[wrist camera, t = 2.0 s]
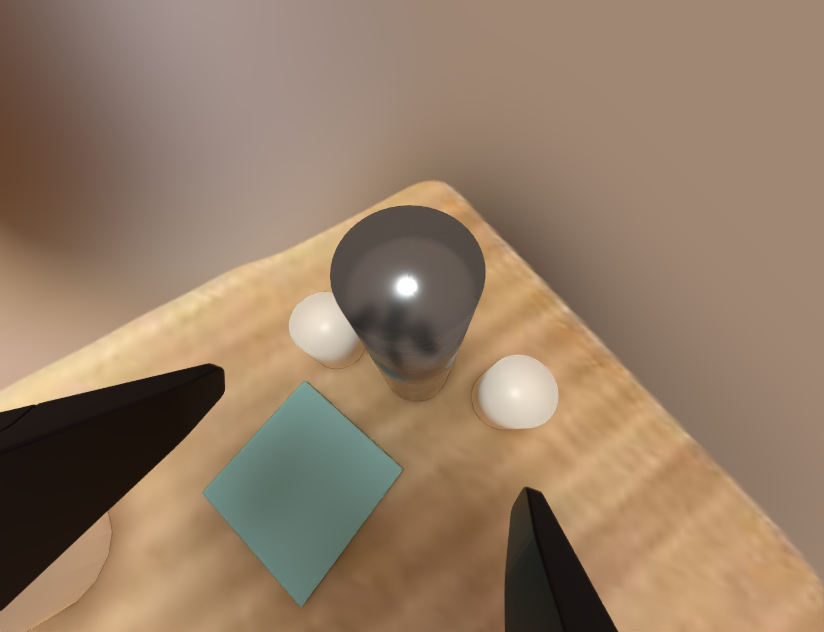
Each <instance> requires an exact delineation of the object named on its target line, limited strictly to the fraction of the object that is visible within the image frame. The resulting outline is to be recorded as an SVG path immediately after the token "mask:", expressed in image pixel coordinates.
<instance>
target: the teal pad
mask: <svg viewBox="0 0 824 632" xmlns="http://www.w3.org/2000/svg"><path fill="white" fill-rule="evenodd" d="M402 470H403V468H402V467H401V466H400V465H399V464H397V463H396V462H395V461H394V460H393V459H392V458H391V457H390V456H389V455H387V454H386V453H385V452H384V451H383V450H382V449H381V448H380V447H379V446H377V445H376V444H375V443H374V442H373V441H372V440H371V439H370V438H369V437H367V436H366V435H365V434H364V433H363V432H362V431H361V430H360V429H359V428H358V427H356V426H355V425H354V424H353V423H352V422H351V421H350V420H349V419H348V418H346V417H345V416H344V415H343V414H342V413H341V412H340V411H339V410H338V409H336V408H335V407H334V406H333V405H332V404H331V403H330V402H329V401H328V400H326V399H325V398H324V397H323V396H322V395H321V394H320V393H319V392H318V391H317V390H315V389H314V388H313V387H312V386H311V385H310V384H309V383H308V382H306V381H304V382H303V383H302V384H301V385H300V386H299V387H298V388H297V389H296V390H295V391H294V393H293V394H292V395H291V396H290V397H289V398H288V399H287V400H286V401H285V402H284V403H283V405H282V406H281V407H280V408H279V409H278V410H277V411H276V412H275V413H274V414H273V416H272V417H271V418H270V419H269V420H268V421H267V422H266V423H265V424H264V425H263V426H262V428H261V429H260V430H259V431H258V432H257V433H256V434H255V435H254V436H253V437H252V439H251V440H250V441H249V442H248V443H247V444H246V445H245V446H244V447H243V448H242V450H241V451H240V452H239V453H238V454H237V455H236V456H235V457H234V458H233V459H232V460H231V462H230V463H229V464H228V465H227V466H226V467H225V468H224V469H223V470H222V471H221V473H220V474H219V475H218V476H217V477H216V478H215V479H214V480H213V481H212V482H211V483H210V485H209V486H208V487H207V488H206V489H205V490H204V491H203V492H202V494H203V495H204V496H205V497H206V498H207V499H208V501H209V502H210V503H211V504H212V505H213V506H214V508H215V509H216V510H217V511H218V512H219V513H220V515H221V516H222V517H223V518H224V519H225V520H226V522H227V523H228V524H229V525H230V526H231V527H232V528H233V530H234V531H235V532H236V533H237V534H238V535H239V537H240V538H241V539H242V540H243V541H244V542H245V544H246V545H247V546H248V547H249V548H250V549H251V551H252V552H253V553H254V554H255V555H256V556H257V557H258V559H259V560H260V561H261V562H262V563H263V564H264V566H265V567H266V568H267V569H268V570H269V571H270V573H271V574H272V575H273V576H274V577H275V578H276V580H277V581H278V582H279V583H280V584H281V585H282V586H283V588H284V589H285V590H286V591H287V592H288V593H289V595H290V596H291V597H292V598H293V599H294V600H295V602H296V603H297V604H298V605H299V606H300V607H302V606H303V604H304V603H305V602H306V600H307V599H308V598H309V596H310V595H311V593H312V592H313V591H314V589H315V588H316V587H317V585H318V584H319V583H320V581H321V580H322V579H323V577H324V576H325V574H326V573H327V572H328V570H329V569H330V568H331V566H332V565H333V564H334V562H335V561H336V560H337V558H338V557H339V556H340V554H341V553H342V551H343V550H344V549H345V547H346V546H347V545H348V543H349V542H350V541H351V539H352V538H353V537H354V535H355V534H356V532H357V531H358V530H359V528H360V527H361V526H362V524H363V523H364V522H365V520H366V519H367V518H368V516H369V515H370V513H371V512H372V511H373V509H374V508H375V507H376V505H377V504H378V503H379V501H380V500H381V499H382V497H383V496H384V494H385V493H386V492H387V490H388V489H389V488H390V486H391V485H392V484H393V482H394V481H395V480H396V478H397V477H398V475H399V474H400V473H401V471H402Z"/></svg>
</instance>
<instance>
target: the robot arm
mask: <svg viewBox="0 0 824 632" xmlns="http://www.w3.org/2000/svg"><path fill="white" fill-rule="evenodd" d="M224 392H225V374H224V369H223V368H222V367H220V366H217V365H214V364H211V363H208V364H204V365H199V366H195V367H191V368H187V369H183V370H178V371H174V372H170V373H166V374H161V375H157V376H153V377H149V378H144V379H140V380H136V381H132V382H127V383H123V384H119V385H115V386H111V387H106V388H102V389H98V390H94V391H89V392H85V393H81V394H77V395H72V396H68V397H64V398H60V399H55V400H51V401H47V402H43V403H39V404H37V405H30V406H26V407H21V408H17V409H13V410H9V411H4V412H0V611H2V610H3V609H4V608H6V607H7V606H8V605H9V604H10V603H11V602H12V601H13V600H14V599H15V598H16V597H17V596H18V595H19V594H20V593H21V592H22V591H24V590H25V589H26V588H27V587H28V586H29V585H30V584H31V583H32V582H33V581H34V580H35V579H36V578H37V577H38V576H39V575H41V574H42V573H43V572H44V571H45V570H46V569H47V568H48V567H49V566H50V565H51V564H52V563H53V562H54V561H55V560H56V559H58V558H59V557H60V556H61V555H62V554H63V553H64V552H65V551H66V550H67V549H68V548H69V547H70V546H71V545H72V544H73V543H74V542H76V541H77V540H78V539H79V538H80V537H81V536H82V535H83V534H84V533H85V532H86V531H87V530H88V529H89V528H90V527H91V526H93V525H94V524H95V523H96V522H97V521H98V520H99V519H100V518H101V517H102V516H103V515H104V514H105V513H106V512H107V511H108V510H110V509H111V508H112V507H113V506H114V505H115V504H116V503H117V502H118V501H119V500H120V499H121V498H122V497H123V496H124V495H125V494H126V493H128V492H129V491H130V490H131V489H132V488H133V487H134V486H135V485H136V484H137V483H138V482H139V481H140V480H141V479H142V478H143V477H145V476H146V475H147V474H148V473H149V472H150V471H151V470H152V469H153V468H154V467H155V466H156V465H157V464H158V463H159V462H160V461H161V460H163V459H164V458H165V457H166V456H167V455H168V454H169V453H170V452H171V451H172V450H173V449H174V448H175V447H176V446H177V445H178V444H179V443H180V442H181V441H182V440H183V439H184V438H185V437H186V436H187V435H188V434H189V433H190V432H191V431H192V430H193V429H194V428H195V426H196V425H197V424H198V423H199V422H200V421H201V420H202V419H203V417H204V416H205V415H206V414H207V413H208V412H209V411H210V410H211V408H212V407H213V406H214V405H215V404H216V403H217V402H218V401H219V399H220V398H221V397H222V396H223V394H224ZM505 632H618V630H617V629H616V627H615V625H614V623H613V621H612V619H611V618H610V616H609V614H608V612H607V610H606V608H605V607H604V605H603V603H602V601H601V599H600V598H599V596H598V594H597V592H596V590H595V588H594V587H593V585H592V583H591V581H590V579H589V577H588V576H587V574H586V572H585V570H584V568H583V567H582V565H581V563H580V561H579V559H578V557H577V556H576V554H575V552H574V550H573V548H572V546H571V545H570V543H569V541H568V539H567V537H566V536H565V534H564V532H563V530H562V528H561V526H560V525H559V523H558V521H557V519H556V517H555V515H554V514H553V512H552V510H551V508H550V506H549V505H548V503H547V501H546V499H545V497H544V495H543V494H542V493H541V492H540V491H538V490H535V489H533V488H530V487H524V488H523V489H522V491H521V492H520V494H519V496H518V498H517V499H516V501H515V503H514V505H513V507H512V510H511V516H510V527H509V538H508V548H507V559H506V569H505Z"/></svg>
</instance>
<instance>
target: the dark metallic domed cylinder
mask: <svg viewBox="0 0 824 632" xmlns="http://www.w3.org/2000/svg"><path fill="white" fill-rule="evenodd" d="M330 280H331V288H332V292H333V295H334V298H335V300H336V303H337V304H338V306H339V308H340V309H341V311H342V313H343V314H344V316H345V317H346V319H347V320H348V322H349V323H350V325H351V327H352V328H353V330H354V331H355V333H356V334H357V336H358V337H359V339H360V341H361V342H362V344H363V345H364V347H365V348H366V350H367V351H368V353H369V354H370V356H371V358H372V359H373V361H374V362H375V364H376V365H377V367H378V368H379V370H380V372H381V373H382V375H383V376H384V378H385V379H386V381H387V382H388V384H389V385H390V387H391V388H392V390H393V391H394V392H395V393H396V394H397V395H399V396H400V397H402V398H404V399H406V400H410V401H424V400H427V399H430V398H432V397H433V396H435V395H436V394H437V393H438V392H439V391H440V390H441V389H442V388H443V386H444V384H445V382H446V380H447V377H448V375H449V373H450V370H451V368H452V365H453V363H454V360H455V358H456V356H457V353H458V351H459V348H460V346H461V343H462V341H463V338H464V336H465V334H466V331H467V329H468V326H469V324H470V321H471V319H472V317H473V314H474V312H475V309H476V307H477V304H478V302H479V300H480V297H481V294H482V291H483V288H484V283H485V262H484V257H483V254H482V251H481V248H480V246H479V244H478V242H477V241H476V239H475V238H474V236H473V235H472V234H471V232H470V231H469V230H468V229H467V228H466V227H465V226H464V225H463V224H462V223H461V222H459V221H458V220H456V219H455V218H453V217H452V216H450V215H448V214H446V213H444V212H441V211H439V210H436V209H432V208H429V207H423V206H412V205H407V206H396V207H391V208H387V209H383V210H380V211H378V212H375V213H373V214H371V215H369V216H367V217H365V218H364V219H362V220H361V221H359V222H358V223H357V224H356V225H354V226H353V227H352V228H351V229H350V230H349V231H348V232H347V233H346V235H345V236H344V237H343V239H342V240H341V241H340V243H339V245H338V247H337V249H336V251H335V253H334V256H333V259H332V264H331V271H330Z"/></svg>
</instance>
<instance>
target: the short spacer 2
mask: <svg viewBox="0 0 824 632" xmlns="http://www.w3.org/2000/svg"><path fill="white" fill-rule="evenodd" d="M472 404H473V408H474V410H475V412H476V414H477V415H478V417H479V418H480V419H481V420H482V421H483V422H484V423H485V424H487V425H488V426H490V427H492V428H495V429H500V430H509V429H524V428H534V427H537V426H540V425H542V424H544V423H545V422H547V421H548V420H549V419H550V418H551V417H552V415H553V414H554V412H555V410H556V407H557V404H558V388H557V384H556V381H555V379H554V377H553V375H552V374H551V372H550V371H549V370H548V369H547V368H546V367H545V366H544V365H543V364H542V363H541V362H539V361H538V360H536V359H534V358H532V357H529V356H525V355H511V356H507V357H504V358H502V359H500V360H499V361H498V362H496V363H495V364H494V365H493V366H492V367H491V368H489V369H488V370H487V371H486V372H485V373H484V374H482V375H481V376H480V377H479V378H478V379H477V381H476V382H475V384H474V386H473V390H472Z"/></svg>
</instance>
